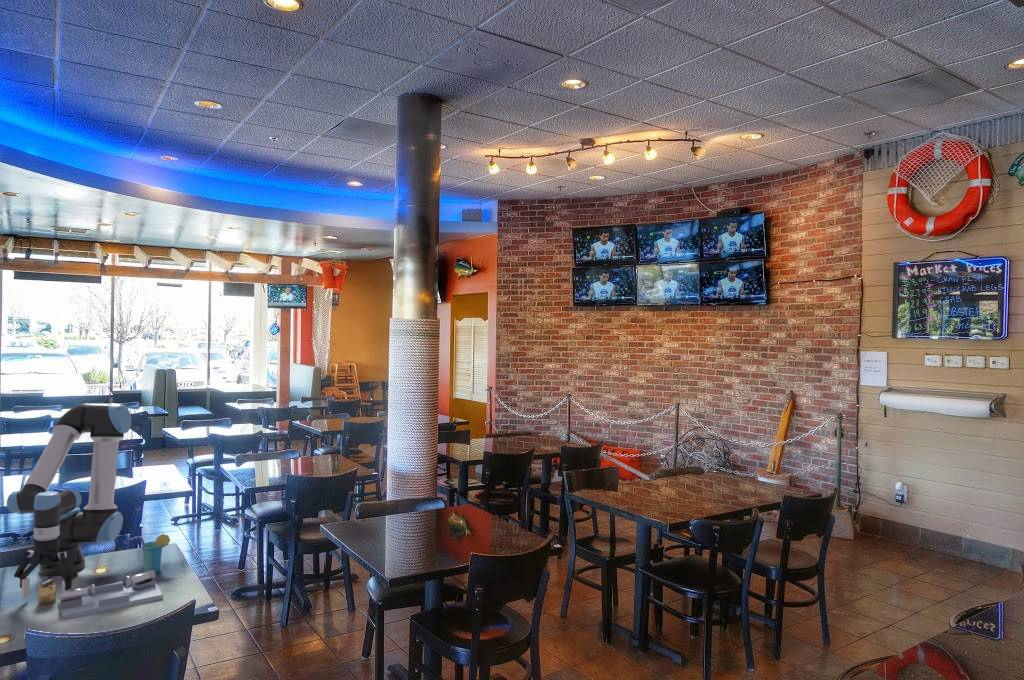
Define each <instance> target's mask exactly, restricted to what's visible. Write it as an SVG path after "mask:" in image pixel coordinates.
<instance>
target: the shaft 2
mask: <svg viewBox="0 0 1024 680" xmlns="http://www.w3.org/2000/svg"><path fill="white" fill-rule="evenodd" d="M156 575H157V573H155V571H154V570H152V571H148V572H145V571H144V572H141V573H139V574H134V575H132V576H130V575H126V576H124V577H122V582H123V587H125V588H126V589H128V588H131V587H132V588H134V589H136V590H138V591H141V590H144V589H147V588H150V587H153V586H156V584H157V583H156V582H157V580H156Z"/></svg>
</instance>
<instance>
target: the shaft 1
mask: <svg viewBox="0 0 1024 680" xmlns="http://www.w3.org/2000/svg"><path fill="white" fill-rule="evenodd" d="M95 587H96V584H95V583H91V584H90V585H89V586H85V587H81V588H76V589H69V591H64V592H62V591H60V592H59V599H60V602H61V601H66V600H71V599H76V598H81V597H86V596H91V597H95V594H96V590H95Z"/></svg>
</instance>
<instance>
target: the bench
mask: <svg viewBox="0 0 1024 680" xmlns="http://www.w3.org/2000/svg"><path fill="white" fill-rule="evenodd" d="M95 590H96V594H95V597H91V596H86V597H81V598H76V599H71V600H66V601H61V602H60V598H59V599H58V601H57V602H58V608H59V611H60V616H61V620H67V619H71V618H76V617H77V618H78V617H81V616H85V615H87V616H88V615H91V614H96V613H101V612H105V611H110V610H115V609H120V608H124V607H130V606H134V605H140V604H144V603H149V602H154V601H159V600H163V599H164V593H162V591H161V589H160V587H159V585H158V584H157V583H156V586H153V587H150V588H147V589H144V590H141V591H138V590H136V589H134V588H132V587H131V588H128V589H126V588H125V587H124V586H123V581H119V582H113V583H108V584H104V585H98V586H96V585H95Z"/></svg>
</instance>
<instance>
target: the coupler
mask: <svg viewBox="0 0 1024 680" xmlns="http://www.w3.org/2000/svg"><path fill="white" fill-rule="evenodd" d="M56 601H57V583H56V582H54V578H50V579H47V580H46V581H44V582H42V583H40V585H39V586H38V606H49V605H50V606H51V605H53V604H55V603H57V602H56Z"/></svg>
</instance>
